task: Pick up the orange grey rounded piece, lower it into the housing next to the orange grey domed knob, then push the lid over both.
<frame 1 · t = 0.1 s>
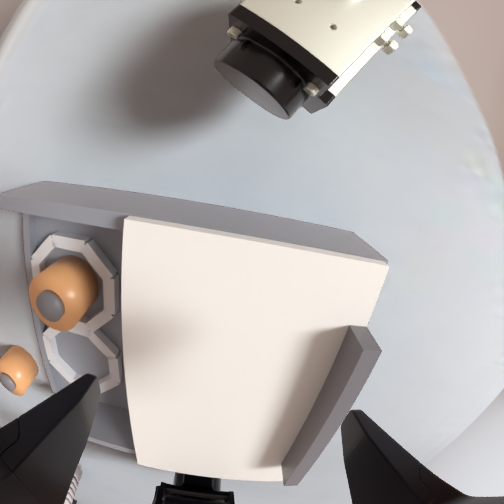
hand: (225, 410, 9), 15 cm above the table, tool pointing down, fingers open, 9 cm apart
orange grey domed knob: (75, 281, 22), point 1 cm above the table, touching housing
housing: (110, 322, 24), on the table
lid: (227, 416, 18), point 8 cm above the table, slide at 11.0 cm
pneumatic valve: (302, 60, 18), on the table
orange grey rounded piece: (23, 360, 26), on the table
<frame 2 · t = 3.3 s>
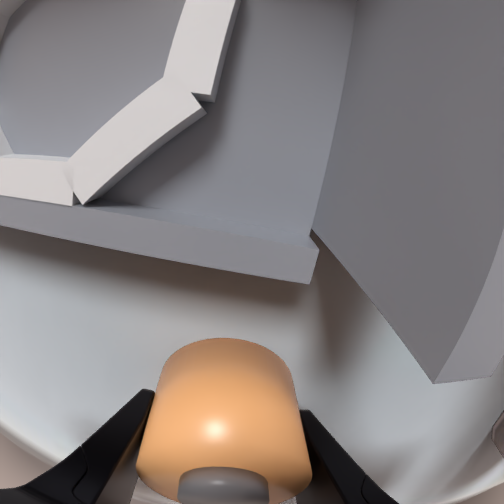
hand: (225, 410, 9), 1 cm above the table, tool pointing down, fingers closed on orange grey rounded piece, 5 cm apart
orange grey rounded piece: (226, 390, 10), on the table, touching gripper
when the fingers open (3 cm above the table, at t = 6.8 s): orange grey rounded piece drops 1 cm, resting on housing.
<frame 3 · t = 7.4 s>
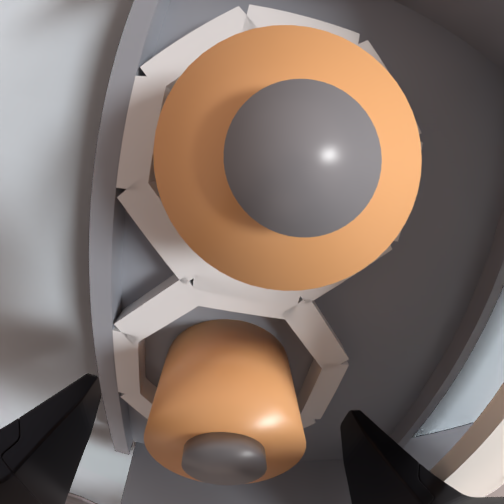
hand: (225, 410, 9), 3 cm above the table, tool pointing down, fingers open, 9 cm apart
orange grey domed knob: (272, 153, 8), point 1 cm above the table, touching housing
housing: (324, 279, 11), on the table
orange grey rounded piece: (227, 370, 11), point 1 cm above the table, touching housing
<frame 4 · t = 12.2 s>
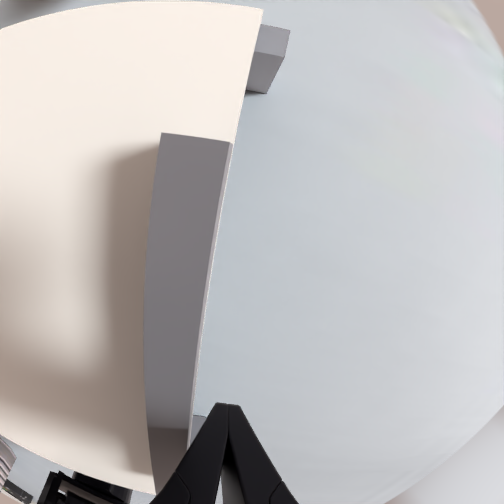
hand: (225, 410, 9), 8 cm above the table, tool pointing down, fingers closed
disk drive: (7, 480, 34), on the table
lid: (16, 351, 8), point 8 cm above the table, slide at 10.6 cm, touching gripper
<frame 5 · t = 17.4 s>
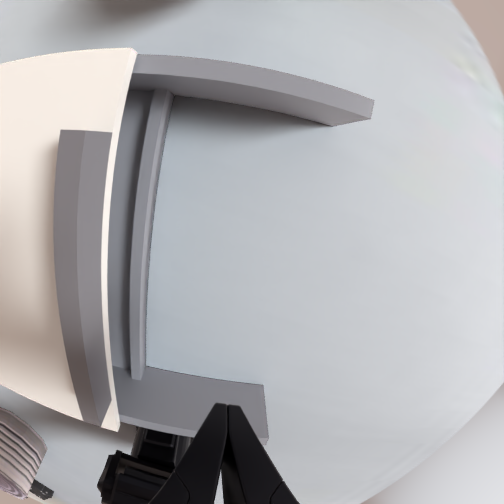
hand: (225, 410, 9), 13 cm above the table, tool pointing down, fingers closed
disk drive: (26, 475, 39), on the table
housing: (59, 233, 20), on the table
can: (20, 429, 30), on the table
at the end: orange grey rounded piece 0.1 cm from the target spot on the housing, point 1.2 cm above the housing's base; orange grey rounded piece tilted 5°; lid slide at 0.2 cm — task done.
